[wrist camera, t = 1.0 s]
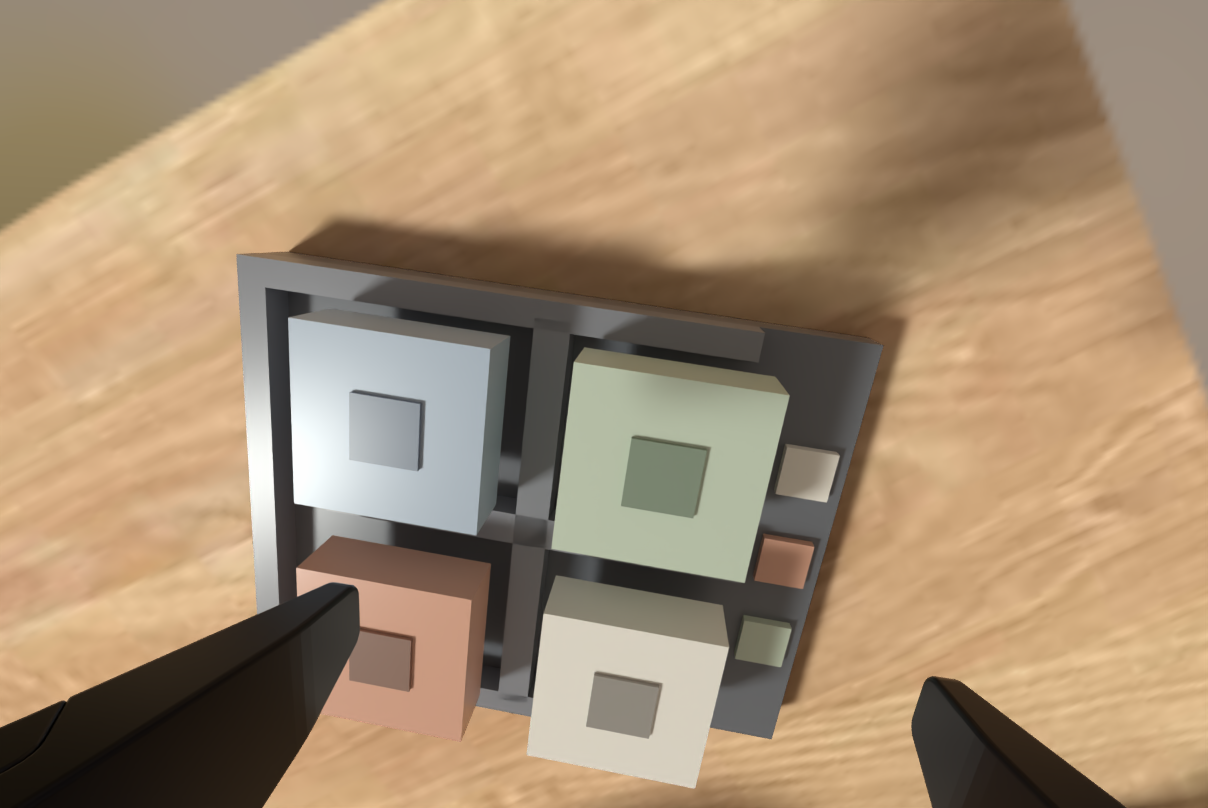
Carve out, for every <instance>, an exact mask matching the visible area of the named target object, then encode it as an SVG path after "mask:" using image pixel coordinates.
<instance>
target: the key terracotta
mask: <svg viewBox="0 0 1208 808" xmlns="http://www.w3.org/2000/svg"><path fill="white" fill-rule="evenodd" d="M490 570H491V564H490V563H485V562H479V561H474V560H468V559H463V558H457V557H451V556H446V555H440V554H435V553H429V552H424V551H418V550H412V549H407V548H401V547H396V546H390V545H384V544H379V543H373V542H368V541H362V540H357V539H351V538H345V537H340V536H334V535H332V536H331V537H330V538H329V539H328V540H327V541H326V542H324V543H323V544H322V545H321V546H320V547H319V548H318V549H317V550H316V551H314V552H313V553H312V554H311V555H310V556H309V557H308V558H307V559H306V560H304V561H303V562H302V563H301V564H300V565H299V566H298V567H297V568H296V576H297V597H298V596H300V595H302V594H305V593H307V592H309V591H311V590H314V589H316V588H318V587H320V586H323V585H325V584H327V583H330V582H337V583H344V584H350V585H354V586H355V587H356V588H357V589H358V591H359V609H360V633H359V637H358V641H357V643H356V646H355V648H354V650H353V651H352V653H351V655H350V657H349V659H348V661H347V663H346V665H345V667H344V669H343V671H342V673H341V675H340V677H339V678H338V680H337V682H336V684H335V686H334V688H333V690H332V692H331V694H330V696H329V698H328V700H327V702H326V704H325V705H324V707H323V709H322V711H321V713H320V714H324V715H329V716H334V717H339V718H344V719H349V720H354V721H359V722H364V723H369V724H374V725H379V726H384V727H389V728H394V729H399V730H404V731H409V732H414V733H419V734H424V735H429V736H434V737H439V738H444V739H449V740H454V741H459V742H461V740H462V738H463V735H464V733H465V730H466V728H467V726H468V723H469V721H470V718H471V716H472V713H473V711H474V708H475V706H476V703H477V701H478V698H479V696H480V687H481V675H482V663H483V652H484V640H485V628H486V616H487V605H488V593H489V581H490Z"/></svg>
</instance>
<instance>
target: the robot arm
mask: <svg viewBox="0 0 1208 808" xmlns="http://www.w3.org/2000/svg"><path fill="white" fill-rule="evenodd" d="M359 633H360V609H359V591H358V589H357V588H356V587H355V586H354V585H350V584H344V583H337V582H330V583H327V584H325V585H323V586H320V587H318V588H316V589H314V590H311V591H309V592H307V593H305V594H302V595H300V596H298V597H295V598H293V599H291V600H289V601H286V602H284V603H282V604H280V605H277V606H275V607H273V608H271V609H268V610H266V611H264V612H262V613H259V614H257V615H255V616H253V617H250V618H248V619H246V620H243V621H241V622H239V623H237V624H234V625H232V626H230V627H228V628H225V629H223V630H221V631H219V632H216V633H214V634H212V635H209V636H207V637H205V638H203V639H200V640H198V641H196V642H194V643H191V644H189V645H187V646H185V647H182V648H180V649H178V650H176V651H173V652H171V653H169V654H166V655H164V656H162V657H160V658H157V659H155V660H153V661H151V662H148V663H146V664H144V665H142V666H139V667H137V668H135V669H132V670H130V671H128V672H126V673H123V674H121V675H119V676H117V677H114V678H112V679H110V680H108V681H105V682H103V683H101V684H99V685H96V686H94V687H92V688H89V689H87V690H85V691H83V692H80V693H78V694H76V695H74V696H72V697H70V698H69V699H68V701H67V702H66V701H60V702H57V703H55V704H53V705H51V706H48V707H46V708H44V709H42V710H40V711H37V712H35V713H33V714H31V715H28V716H26V717H24V718H21V719H19V720H17V721H14V722H12V723H10V724H7V725H5V726H3V727H0V808H262V807H263V806H264V804H265V803H266V801H267V800H268V798H269V797H270V795H271V794H272V792H273V790H274V789H275V787H276V786H277V784H278V783H279V781H280V780H281V778H282V777H283V775H284V773H285V772H286V770H287V769H288V767H289V766H290V764H291V763H292V761H293V760H294V758H295V756H296V755H297V753H298V752H299V750H300V749H301V747H302V745H303V744H304V742H305V740H306V739H307V737H308V735H309V734H310V732H311V730H312V728H313V726H314V725H315V723H316V721H317V719H318V717H319V715H320V713H321V711H322V709H323V707H324V705H325V704H326V702H327V700H328V698H329V696H330V694H331V692H332V690H333V688H334V686H335V684H336V682H337V680H338V678H339V677H340V675H341V673H342V671H343V669H344V667H345V665H346V663H347V661H348V659H349V657H350V655H351V653H352V651H353V650H354V648H355V646H356V643H357V641H358V637H359ZM912 736H913V740H914V744H915V747H916V751H917V754H918V758H919V761H920V765H921V769H922V772H923V776H924V779H925V783H926V786H927V790H928V793H929V797H930V801H931V804H932V808H1126V807H1125V806H1124V805H1123V804H1121V803H1120V802H1119V801H1117V800H1116V799H1115V798H1113V797H1112V796H1111V795H1109V794H1108V793H1107V792H1105V791H1104V790H1103V789H1101V788H1100V787H1099V786H1098V785H1096V784H1095V783H1094V782H1092V781H1091V780H1090V779H1088V778H1087V777H1086V776H1084V775H1083V774H1082V773H1080V772H1079V771H1078V770H1076V769H1075V768H1074V767H1073V766H1071V765H1070V764H1069V763H1067V762H1066V761H1065V760H1063V759H1062V758H1061V757H1059V756H1058V755H1057V754H1055V753H1054V752H1053V751H1051V750H1050V749H1049V748H1048V747H1046V746H1045V745H1044V744H1042V743H1041V742H1040V741H1038V740H1037V739H1036V738H1034V737H1033V736H1032V735H1030V734H1029V733H1028V732H1026V731H1025V730H1024V729H1023V728H1021V727H1020V726H1019V725H1017V724H1016V723H1015V722H1013V721H1012V720H1011V719H1009V718H1008V717H1007V716H1005V715H1004V714H1003V713H1001V712H1000V711H999V710H998V709H996V708H995V707H994V706H992V705H991V704H990V703H988V702H987V701H986V700H984V699H983V698H982V697H980V696H979V695H978V694H976V693H975V692H974V691H973V690H971V689H970V688H969V687H967V686H966V685H965V684H963V683H962V682H960V681H958V680H955V679H949V678H942V677H936V676H931V677H929V678H927V679H926V680H925V682H924V684H923V687H922V690H921V693H920V696H919V699H918V702H917V706H916V709H915V712H914V715H913V718H912Z"/></svg>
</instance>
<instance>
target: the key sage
mask: <svg viewBox="0 0 1208 808" xmlns="http://www.w3.org/2000/svg"><path fill="white" fill-rule="evenodd" d="M789 397H790V395H789V394H788V393H787V391H786V390H785V389H784V387H783V386H782V385H781V383H780V382H779V381H778V379H777V378H776V377H774V376H768V375H761V374H755V373H748V372H742V371H735V370H729V369H722V368H716V367H709V366H703V365H696V364H690V363H683V362H677V361H670V360H664V359H657V358H651V357H644V356H638V355H631V354H625V353H618V352H612V351H605V350H599V349H592V348H586V347H584V349H583V350H582V352H581V353H580V354H579V356H578V357H577V358H576V360H575V361H574V365H573V374H572V382H571V390H570V399H569V407H568V415H567V423H566V432H565V440H564V448H563V457H562V465H561V473H560V482H559V490H558V498H557V506H556V515H555V523H554V531H553V540H552V548H551V549H555V550H561V551H567V552H572V553H578V554H584V555H589V556H595V557H601V558H606V559H612V560H618V561H623V562H629V563H635V564H640V565H646V566H652V567H657V568H663V569H669V570H674V571H680V572H686V573H691V574H697V575H703V576H708V577H714V578H720V579H725V580H731V581H737V582H742V583H745V579H746V575H747V571H748V567H749V563H750V558H751V554H752V550H753V546H754V542H755V538H756V534H757V529H758V525H759V521H760V517H761V513H762V509H763V504H764V500H765V496H766V492H767V488H768V484H769V480H770V475H771V471H772V467H773V463H774V459H775V455H776V451H777V446H778V442H779V438H780V434H781V430H782V426H783V421H784V417H785V413H786V409H787V405H788V401H789Z"/></svg>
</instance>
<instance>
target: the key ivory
mask: <svg viewBox="0 0 1208 808" xmlns="http://www.w3.org/2000/svg"><path fill="white" fill-rule="evenodd" d="M728 650H729V644H728V637H727V630H726V624H725V617H724V610H723V605H719V604H713V603H708V602H702V601H697V600H691V599H685V598H680V597H674V596H669V595H663V594H658V593H652V592H646V591H641V590H635V589H630V588H624V587H619V586H613V585H607V584H602V583H596V582H591V581H585V580H580V579H574V578H568V577H563V576H557V575H556V577H555V580H554V583H553V586H552V589H551V592H550V595H549V598H548V601H547V605H546V608H545V611H544V614H543V623H542V631H541V639H540V647H539V656H538V664H537V672H536V681H535V689H534V697H533V706H532V714H531V722H530V730H529V739H528V747H527V755H529V756H534V757H539V758H544V759H549V760H554V761H559V762H564V763H569V764H574V765H579V766H584V767H589V768H594V769H599V770H604V771H609V772H614V773H619V774H624V775H629V776H634V777H639V778H644V779H649V780H654V781H659V782H664V783H669V784H674V785H679V786H684V787H689V788H694V789H695V787H696V783H697V778H698V774H699V770H700V766H701V762H702V758H703V754H704V749H705V745H706V741H707V737H708V733H709V729H710V724H711V720H712V716H713V712H714V708H715V704H716V700H717V695H718V691H719V687H720V683H721V679H722V675H723V671H724V666H725V662H726V658H727V654H728Z"/></svg>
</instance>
